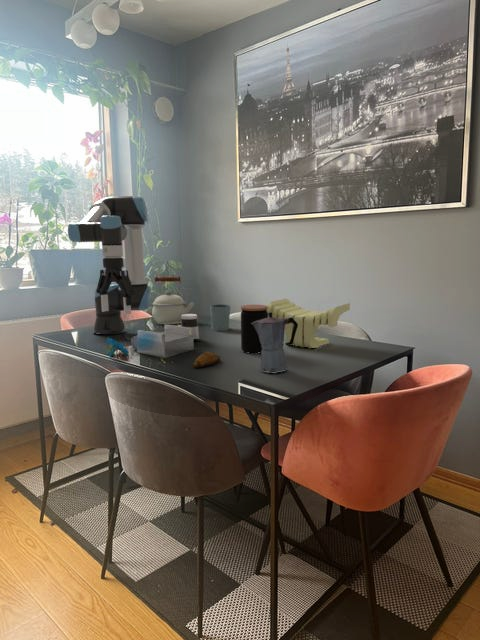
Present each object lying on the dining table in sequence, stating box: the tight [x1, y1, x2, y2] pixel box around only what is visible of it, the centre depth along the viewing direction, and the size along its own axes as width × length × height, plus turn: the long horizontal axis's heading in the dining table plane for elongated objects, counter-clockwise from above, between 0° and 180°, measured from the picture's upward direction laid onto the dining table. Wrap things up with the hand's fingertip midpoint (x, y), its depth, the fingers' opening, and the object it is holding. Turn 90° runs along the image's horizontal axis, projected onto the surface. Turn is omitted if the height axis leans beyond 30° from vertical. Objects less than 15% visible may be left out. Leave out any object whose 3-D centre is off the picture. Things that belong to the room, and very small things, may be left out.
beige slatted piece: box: [267, 298, 351, 349], centre depth 195 cm, size 30×16×18 cm, turn 53°
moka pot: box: [252, 312, 298, 372], centre depth 157 cm, size 10×15×20 cm, turn 95°
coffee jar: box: [240, 304, 268, 353], centre depth 186 cm, size 11×11×18 cm
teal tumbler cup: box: [209, 303, 231, 332], centre depth 233 cm, size 10×10×12 cm
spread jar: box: [177, 313, 200, 343], centre depth 208 cm, size 12×11×12 cm
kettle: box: [150, 276, 195, 325], centre depth 253 cm, size 25×18×25 cm
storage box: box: [130, 324, 195, 359], centre depth 191 cm, size 22×16×10 cm
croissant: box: [193, 350, 221, 369], centre depth 168 cm, size 14×7×5 cm, turn 143°
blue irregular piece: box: [106, 337, 129, 357], centre depth 183 cm, size 11×6×10 cm
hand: (116, 312), depth 182 cm, fingers open, 13 cm apart
